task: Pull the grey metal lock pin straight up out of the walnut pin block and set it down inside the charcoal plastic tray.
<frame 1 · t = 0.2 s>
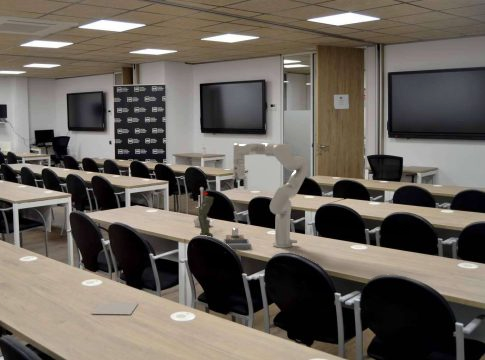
hand: (238, 187, 352), 36 cm above the table, tool pointing down, fingers open, 9 cm apart
tray: (236, 246, 338), on the table
grey flat slab: (102, 313, 222), on the table
mechanical leg: (205, 237, 365), on the table
pin block: (235, 240, 355), on the table
lock pin: (235, 234, 355), in the pin block
flag stand: (202, 225, 404), on the table
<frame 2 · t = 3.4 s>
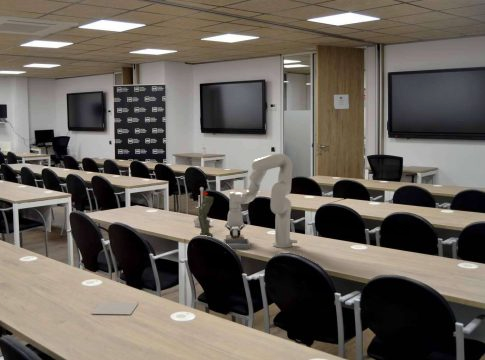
hand: (235, 236, 355), 3 cm above the table, tool pointing down, fingers closed on lock pin, 4 cm apart
lock pin: (235, 234, 355), in the pin block, touching gripper
everything else where it was.
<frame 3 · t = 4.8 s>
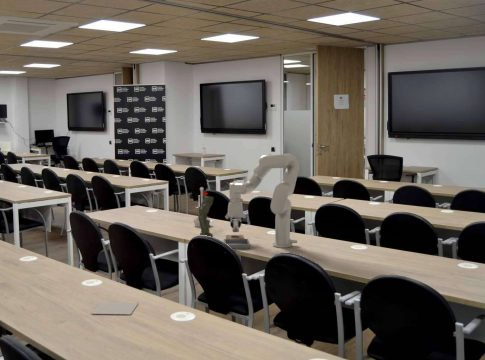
hand: (235, 227, 354), 9 cm above the table, tool pointing down, fingers closed on lock pin, 4 cm apart
lock pin: (235, 225, 354), point 10 cm above the table, touching gripper
everything else where it was.
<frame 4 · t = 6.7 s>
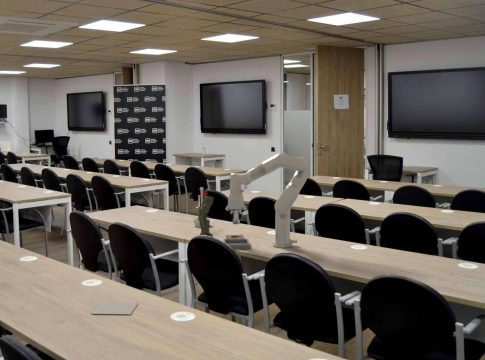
hand: (236, 219, 342), 17 cm above the table, tool pointing down, fingers closed on lock pin, 4 cm apart
lock pin: (236, 217, 342), point 18 cm above the table, touching gripper
everything else where it was.
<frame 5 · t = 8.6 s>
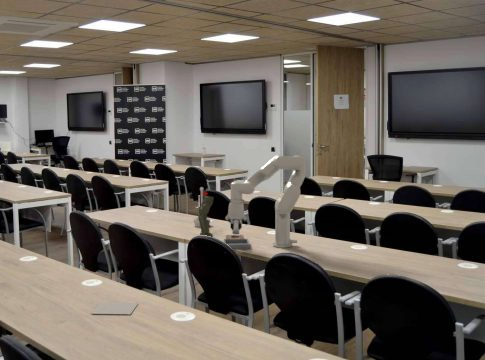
hand: (235, 229, 337), 11 cm above the table, tool pointing down, fingers closed on lock pin, 4 cm apart
lock pin: (236, 227, 337), point 12 cm above the table, touching gripper
everything else where it was.
when the fingers open (5 cm above the table, at t = 10.0 s): lock pin drops 1 cm, resting on tray.
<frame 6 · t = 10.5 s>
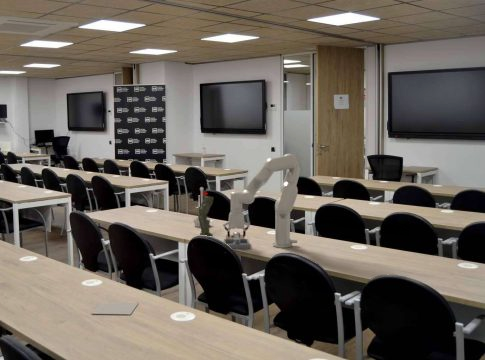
hand: (236, 237, 337), 6 cm above the table, tool pointing down, fingers open, 9 cm apart
lock pin: (236, 239, 338), in the tray, point 5 cm above the table
everything else where it was.
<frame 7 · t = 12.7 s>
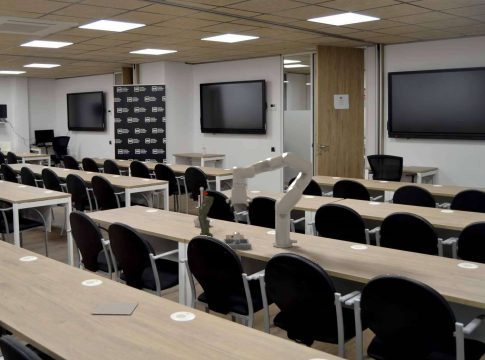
hand: (239, 212, 338), 22 cm above the table, tool pointing down, fingers open, 9 cm apart
nothing on the table moved.
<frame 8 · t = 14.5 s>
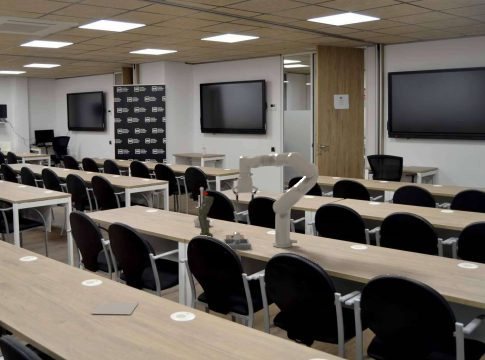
hand: (244, 201, 343), 28 cm above the table, tool pointing down, fingers open, 9 cm apart
nothing on the table moved.
at the end: lock pin inside the target area on the tray (0.2 cm from its centre), point 4.8 cm above the tray's base; the gripper is holding nothing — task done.
